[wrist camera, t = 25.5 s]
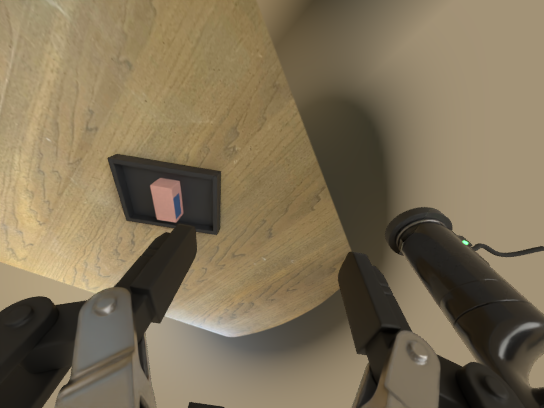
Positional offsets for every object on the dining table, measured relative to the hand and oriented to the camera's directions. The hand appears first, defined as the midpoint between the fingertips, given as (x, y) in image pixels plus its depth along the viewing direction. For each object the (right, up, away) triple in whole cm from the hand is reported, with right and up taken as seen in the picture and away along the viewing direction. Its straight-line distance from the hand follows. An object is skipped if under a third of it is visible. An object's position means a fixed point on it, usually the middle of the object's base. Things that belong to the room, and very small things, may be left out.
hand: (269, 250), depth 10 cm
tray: (-18, +4, +26) cm, 32 cm away
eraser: (-18, +4, +25) cm, 31 cm away
